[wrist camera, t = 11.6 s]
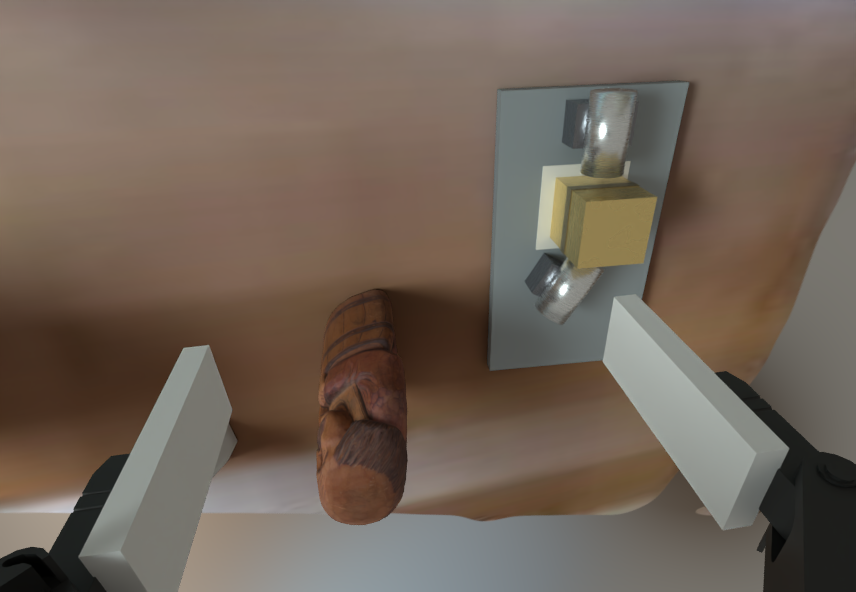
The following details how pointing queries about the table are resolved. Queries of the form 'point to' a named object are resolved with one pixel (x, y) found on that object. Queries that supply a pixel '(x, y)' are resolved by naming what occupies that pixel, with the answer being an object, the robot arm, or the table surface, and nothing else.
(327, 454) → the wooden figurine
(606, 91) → the shaft
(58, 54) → the table surface
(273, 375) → the table surface
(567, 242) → the block
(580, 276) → the shaft
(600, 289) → the base plate
